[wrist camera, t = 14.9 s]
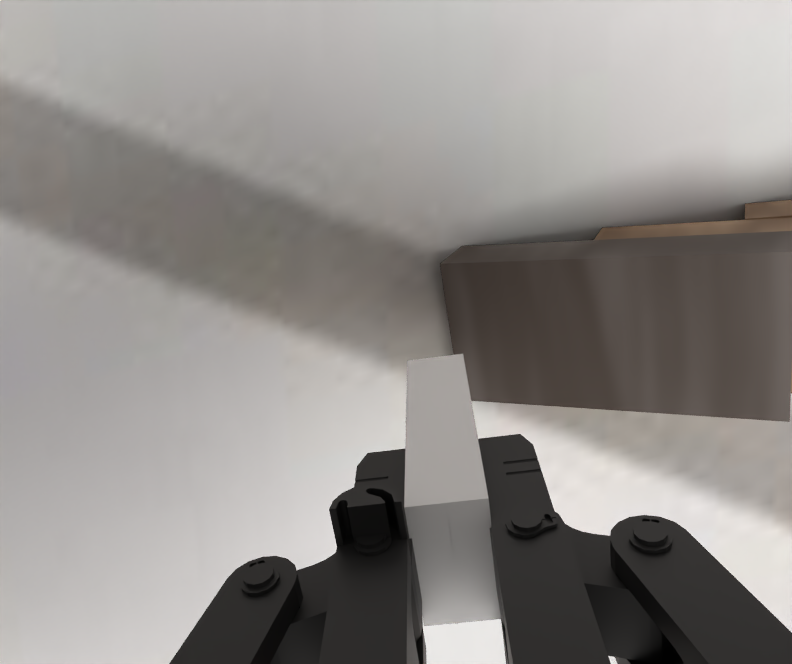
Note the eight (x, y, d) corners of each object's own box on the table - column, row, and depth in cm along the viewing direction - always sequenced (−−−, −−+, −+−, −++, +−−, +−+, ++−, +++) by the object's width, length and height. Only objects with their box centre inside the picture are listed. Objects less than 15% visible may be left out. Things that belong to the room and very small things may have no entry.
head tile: (460, 399, 24) (789, 421, 19) (439, 263, 22) (796, 251, 17) (479, 374, 25) (786, 389, 21) (461, 246, 24) (792, 230, 19)
